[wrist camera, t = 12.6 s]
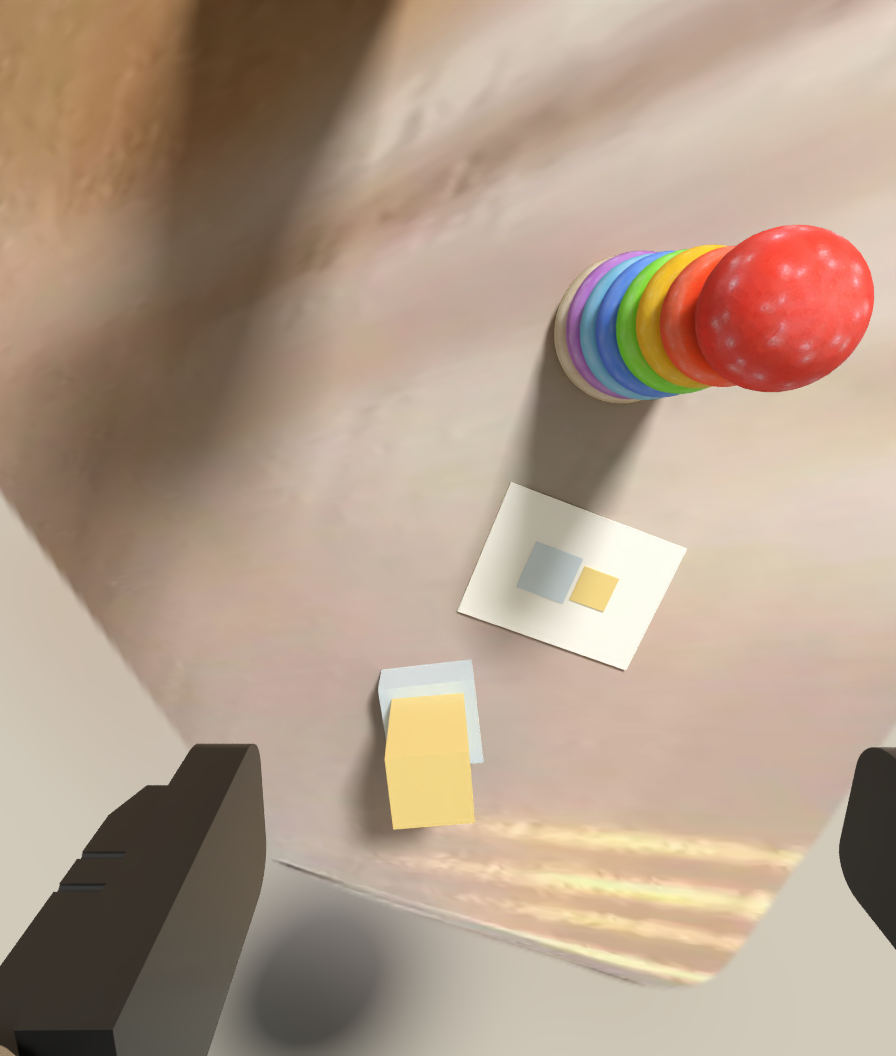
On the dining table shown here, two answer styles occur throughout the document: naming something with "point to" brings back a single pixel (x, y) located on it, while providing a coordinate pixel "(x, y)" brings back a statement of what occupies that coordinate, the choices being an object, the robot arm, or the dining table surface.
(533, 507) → the page
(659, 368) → the stacking toy
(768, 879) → the dining table surface
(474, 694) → the base brick
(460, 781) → the ochre brick
